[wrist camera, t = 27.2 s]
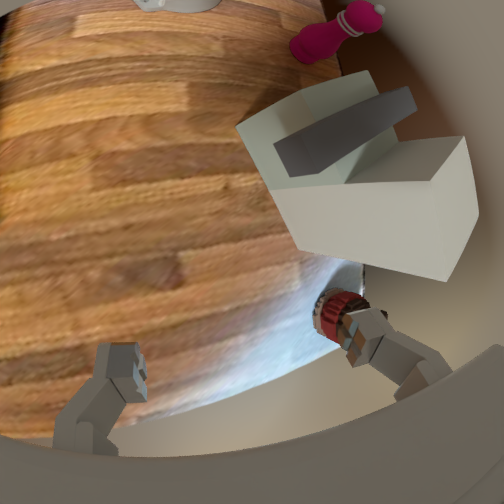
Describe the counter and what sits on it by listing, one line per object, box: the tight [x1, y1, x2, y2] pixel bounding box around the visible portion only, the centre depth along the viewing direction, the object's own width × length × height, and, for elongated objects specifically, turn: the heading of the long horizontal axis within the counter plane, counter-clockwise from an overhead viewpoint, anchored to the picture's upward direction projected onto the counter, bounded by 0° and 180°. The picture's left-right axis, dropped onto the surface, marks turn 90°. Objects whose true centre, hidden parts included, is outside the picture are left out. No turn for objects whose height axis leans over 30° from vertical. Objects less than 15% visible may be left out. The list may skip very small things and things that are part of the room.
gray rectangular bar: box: [273, 86, 417, 178], centre depth 26 cm, size 22×4×4 cm, turn 120°
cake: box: [313, 288, 388, 344], centre depth 44 cm, size 11×9×18 cm
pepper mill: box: [290, 0, 385, 64], centre depth 33 cm, size 7×7×20 cm
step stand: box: [235, 70, 479, 282], centre depth 33 cm, size 14×22×26 cm, turn 30°
